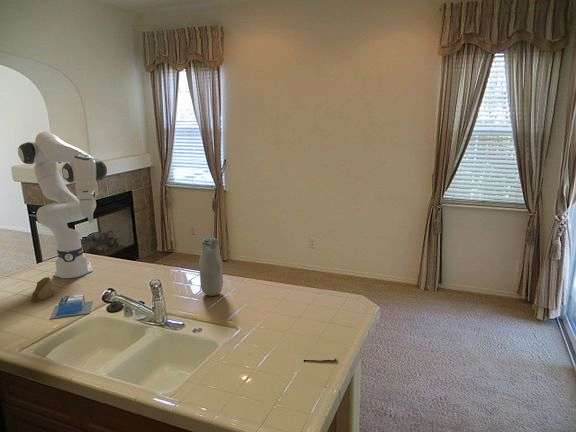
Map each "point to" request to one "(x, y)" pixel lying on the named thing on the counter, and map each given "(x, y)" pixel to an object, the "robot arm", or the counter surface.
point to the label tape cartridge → (71, 305)
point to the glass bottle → (211, 267)
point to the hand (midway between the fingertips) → (91, 221)
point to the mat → (84, 310)
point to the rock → (42, 290)
